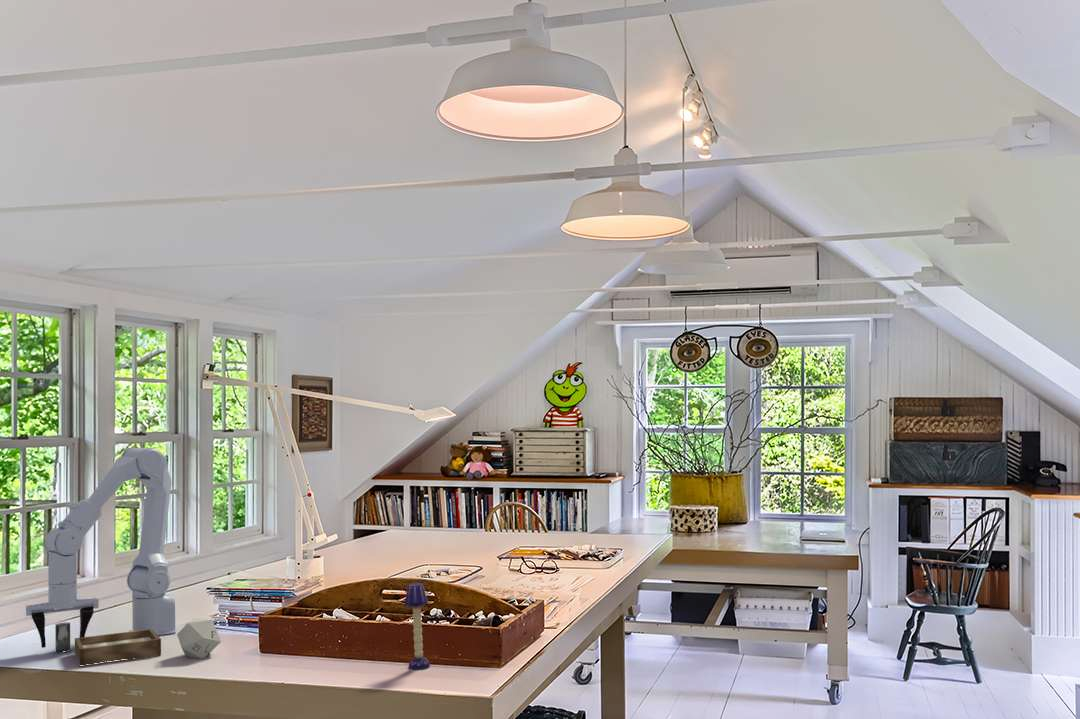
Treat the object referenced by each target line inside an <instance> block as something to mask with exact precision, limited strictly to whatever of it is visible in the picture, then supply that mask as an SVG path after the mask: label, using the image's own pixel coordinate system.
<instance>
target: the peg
mask: <svg viewBox="0 0 1080 719" xmlns="http://www.w3.org/2000/svg"><path fill="white" fill-rule="evenodd" d="M54 626H55V628H54V629H55V630H54V632H55V635H54V636H55V641H54V642H55V644H54V645H55V649H54V650H55V651H56V652H63V651H68V650H70V651H71V622H66V621H65V622H58V623H56V624H55V625H54ZM55 651H54V652H55ZM56 652H55V653H56Z"/></svg>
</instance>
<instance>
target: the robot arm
mask: <svg viewBox="0 0 1080 719" xmlns="http://www.w3.org/2000/svg"><path fill="white" fill-rule="evenodd" d="M167 460H168V458H167V457H166V456H165V455H164V454H163V453H162V452H161V451H160V449H158V448H155V447H135V446H131V447H128V448H126V449H125V450H124V451H123V452H122V453H121V456H120V455H119V457H117V458H116V460H115V461H114V463H113V465H112V467H111V468H110V470H109V471H108V472H107V474H106V475H105V476H104V478H103V479H102V480H101V482H99V484H98V485H97V487H96V488H95V490H94V491H93V492H92V493H91V495H90V496H89V498H88V499H82V500H79V501H78V502H74V503H73V504H72V506H71V508H72V509H71V511H70V512H68V514H67V515H66V517H64V519H63V520H62V521H61V520H59V522H58V523H57V526H58V527H56V528H54V529H51V530H50V531H49V532H48V533H47V534H46V536H45V540H44V541H43V542H42V544H43V548H44V549H45V551H46V552H47V553H48V565H47V566H48V574H47V575H48V578H47V580H48V587H47V588H48V595H47V596H48V601H47V602H43V603H37V604H30V605H29V604H27V605H25V616H31V619H32V621H33V622H34V625H35V627H36V629H37V632H38V634H39V638H40V644H41V646H40V647H41V648H42V649H43V648H46V647H47V645H46V633H45V630H46V628H45V626H46V625H45V624H46V617H45V614H51V613H58V612H59V613H60V612H67V611H68V612H69V611H71V612H72V611H78V610H79V626H80V627H79V638H81V637H86V632H87V630H88V626H89V624H90V621H91V619H92V617H93V615H94V613H95V612H94V610H95V609H99V605H100V604H99V598H82V599H79V598H77V597H78V595H77V594H78V592H77V591H78V583H77V582H78V577H77V575H78V574H77V573H78V572H77V571H78V570H77V569H78V564H77V563H78V562H77V561H78V560H77V559H78V558H77V554H78V553H77V552H78V551H79V550H80V549H81V547H82V545H83V538H84V537H85V536H86V534H87V533H89V531H90V530H91V528H92V527H93V526H94V525H95V524H96V522H97V521H98V520H99V519H100V518H101V516H102V507H103V506H104V505H106V503H107V501H109V500H110V499H111V497H113V495H114V494H116V492H117V491H118V490H119V489H120V488H121V487H122V486H123V484H125V482H129V481H131V480H135V479H138V480H139V481H140V482H141V483H142V484H143V485H144V487H145V488H146V493H145V494H146V495H145V502H144V509H143V519H142V526H141V535H140V543H139V551H138V554H137V555H136V557H135V558H134V560H133V561H132V566H131V568H130V570H129V572H128V573H127V577H126V584H127V586H128V589H129V590H130V591H132V592H131V596H132V598H131V599H132V609H131V610H132V612H131V613H132V629H129V630H128V632H130V631H139V630H147V629H153V630H154V632H155V633H156V634H157V635H158V636H163V635H170V634H177V631H176V600H175V596H174V593H166V592H167V591H168V589H169V588H170V584H171V577H170V573H169V563H168V561H167V559H166V558H165V556H164V550H165V544H166V543H165V542H166V534H167V526H168V525H167V524H168V516H169V510H170V509H169V507H170V501H171V500H170V499H171V492H172V491H171V490H172V478H171V475H170V471H169V468H168V467H167V466H168V465H167Z"/></svg>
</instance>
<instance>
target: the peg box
mask: <svg viewBox="0 0 1080 719" xmlns="http://www.w3.org/2000/svg"><path fill="white" fill-rule="evenodd" d="M75 655H76V656H75ZM160 655H161V656H162V638H160V635H157V634H156V633H155V632H154V630H153V629H147V630H139V631H130V632H129V631H123V632H115V633H109V634H108V633H106V634H99V635H90V636H85V637H81V638H80V637H75V638H74V656H75V658H76V657H77V658H76V661H77V660H78V661H77V663H78V662H79V663H78V665H79V664H80V665H86V664H94V663H100V662H105V661H106V662H107V661H114V660H121V659H132V660H134V659H133V658H140V659H146V658H145V657H147V658H153V656H154V657H159V656H160ZM161 656H160V657H161ZM80 665H79V666H80Z"/></svg>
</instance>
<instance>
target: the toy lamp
mask: <svg viewBox="0 0 1080 719" xmlns="http://www.w3.org/2000/svg"><path fill="white" fill-rule="evenodd" d="M428 602H429V601H428V597H427V594H426V590H425V587H424V584H423V583H421V582H416V583H415V582H413V583H410V584H408V585H407V589H406V594H405V600H404V605H405V606H406V607H411V609H412V618H413V621H412V625H413V642H414V644H413V648H414V657H413V658H412V659H411V660H410V662H409V663H408V668H409V669H410V670H424V669H428V668H430V666H431V664H430V661H429V660H428V659H427V657H424V651H423V649H424V644H423V640H424V639H423V635H422V634H423V628H422V625H423V623H422V616H423V615H422V612H421V611H422V606H426V605H427V604H428Z"/></svg>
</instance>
